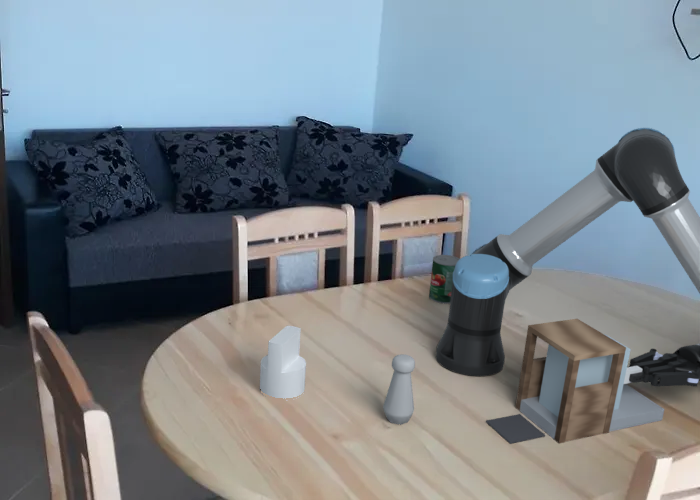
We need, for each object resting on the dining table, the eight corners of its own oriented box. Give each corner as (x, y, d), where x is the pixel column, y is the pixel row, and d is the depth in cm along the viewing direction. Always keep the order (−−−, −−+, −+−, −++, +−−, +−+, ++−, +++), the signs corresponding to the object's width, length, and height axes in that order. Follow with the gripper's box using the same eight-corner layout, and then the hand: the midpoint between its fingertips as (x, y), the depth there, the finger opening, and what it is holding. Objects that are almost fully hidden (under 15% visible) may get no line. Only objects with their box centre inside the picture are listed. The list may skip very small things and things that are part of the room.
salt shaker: (390, 429, 144) (396, 366, 140) (377, 413, 149) (383, 352, 145) (418, 424, 147) (425, 362, 143) (404, 409, 152) (410, 349, 147)
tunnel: (562, 398, 160) (577, 318, 155) (608, 432, 149) (626, 347, 143) (515, 407, 155) (528, 325, 150) (559, 443, 144) (574, 355, 138)
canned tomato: (463, 299, 209) (468, 260, 206) (447, 306, 204) (451, 266, 200) (439, 290, 214) (444, 252, 211) (422, 297, 209) (427, 258, 205)
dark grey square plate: (519, 415, 153) (519, 413, 152) (545, 436, 146) (545, 435, 146) (485, 421, 149) (485, 420, 149) (510, 443, 142) (510, 442, 142)
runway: (615, 389, 166) (618, 379, 165) (662, 420, 155) (664, 409, 154) (516, 408, 155) (518, 397, 154) (558, 442, 144) (560, 430, 143)
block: (594, 392, 159) (605, 334, 155) (618, 408, 153) (630, 349, 149) (538, 402, 153) (548, 342, 149) (561, 420, 147) (572, 358, 143)
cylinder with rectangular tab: (293, 404, 150) (296, 348, 146) (251, 393, 153) (253, 338, 149) (311, 384, 158) (315, 331, 155) (271, 374, 161) (274, 321, 157)
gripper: (721, 392, 159) (634, 410, 149) (672, 364, 170) (588, 379, 160) (729, 359, 157) (641, 375, 147) (679, 333, 168) (594, 346, 158)
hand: (614, 377), depth 154 cm, fingers closed
